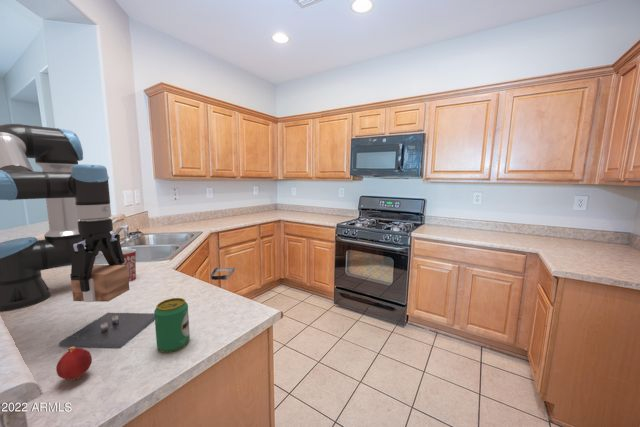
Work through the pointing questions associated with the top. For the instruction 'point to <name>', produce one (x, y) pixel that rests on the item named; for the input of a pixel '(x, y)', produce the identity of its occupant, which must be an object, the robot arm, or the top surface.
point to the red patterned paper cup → (130, 262)
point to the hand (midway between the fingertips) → (103, 294)
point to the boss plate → (110, 330)
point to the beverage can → (172, 324)
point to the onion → (74, 363)
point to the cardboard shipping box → (105, 282)
